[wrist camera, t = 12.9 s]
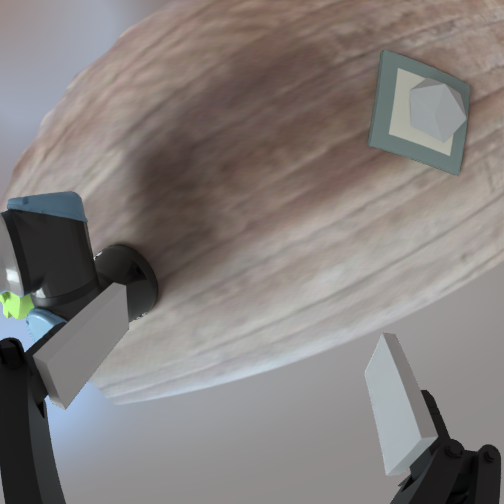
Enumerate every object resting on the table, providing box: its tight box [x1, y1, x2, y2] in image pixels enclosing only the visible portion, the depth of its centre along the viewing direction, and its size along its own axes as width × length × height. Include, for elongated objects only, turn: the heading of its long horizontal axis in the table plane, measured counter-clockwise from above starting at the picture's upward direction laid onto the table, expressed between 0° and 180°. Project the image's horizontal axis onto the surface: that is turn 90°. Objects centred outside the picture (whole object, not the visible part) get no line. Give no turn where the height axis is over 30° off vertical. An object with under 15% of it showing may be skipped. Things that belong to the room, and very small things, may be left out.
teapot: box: [0, 292, 34, 320], centre depth 53 cm, size 18×20×13 cm
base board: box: [367, 49, 470, 176], centre depth 35 cm, size 16×16×2 cm
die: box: [409, 78, 466, 143], centre depth 31 cm, size 8×9×10 cm
